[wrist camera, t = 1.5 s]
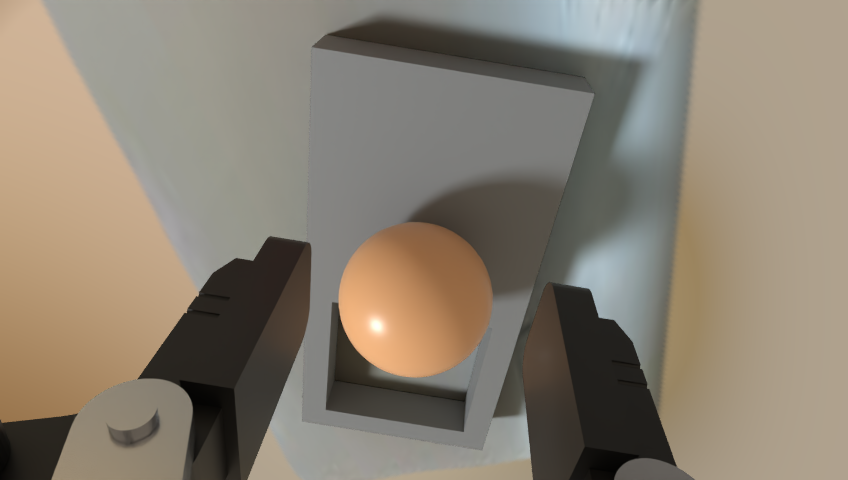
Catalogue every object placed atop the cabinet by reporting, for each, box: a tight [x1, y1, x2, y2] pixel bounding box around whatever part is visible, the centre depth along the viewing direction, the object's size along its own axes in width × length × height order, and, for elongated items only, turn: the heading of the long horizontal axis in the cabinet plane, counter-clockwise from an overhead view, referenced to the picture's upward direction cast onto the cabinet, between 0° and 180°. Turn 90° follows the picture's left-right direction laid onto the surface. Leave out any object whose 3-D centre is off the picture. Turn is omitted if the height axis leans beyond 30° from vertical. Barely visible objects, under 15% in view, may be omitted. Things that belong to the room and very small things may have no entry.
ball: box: [339, 222, 493, 377], centre depth 25 cm, size 7×7×7 cm
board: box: [302, 35, 595, 450], centre depth 30 cm, size 24×12×2 cm, turn 172°
